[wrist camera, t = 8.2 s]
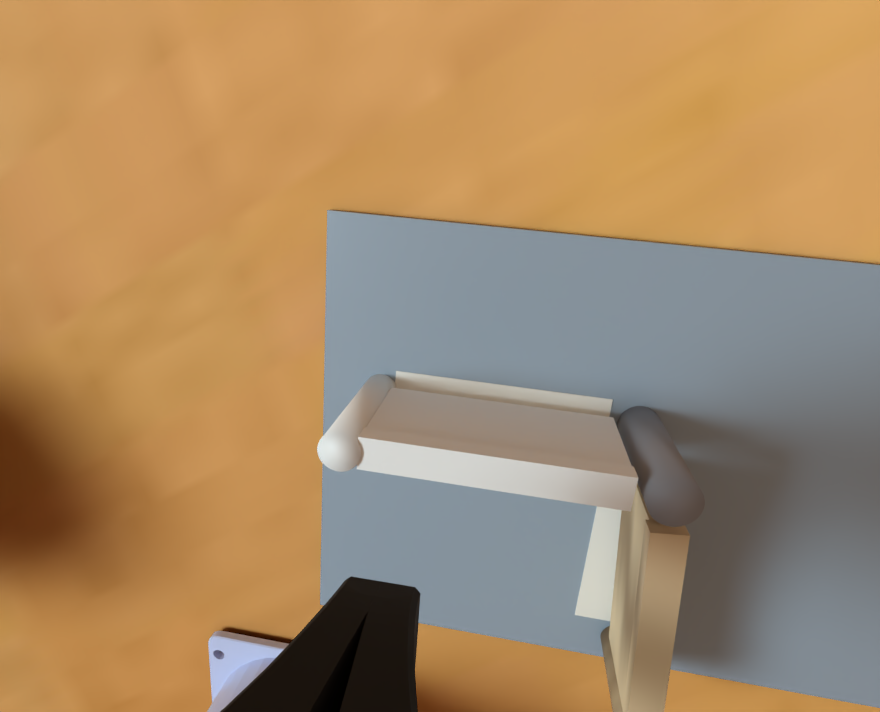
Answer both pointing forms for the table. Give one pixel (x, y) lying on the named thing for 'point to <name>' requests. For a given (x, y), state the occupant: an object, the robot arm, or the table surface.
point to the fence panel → (644, 610)
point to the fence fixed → (514, 449)
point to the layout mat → (609, 394)
